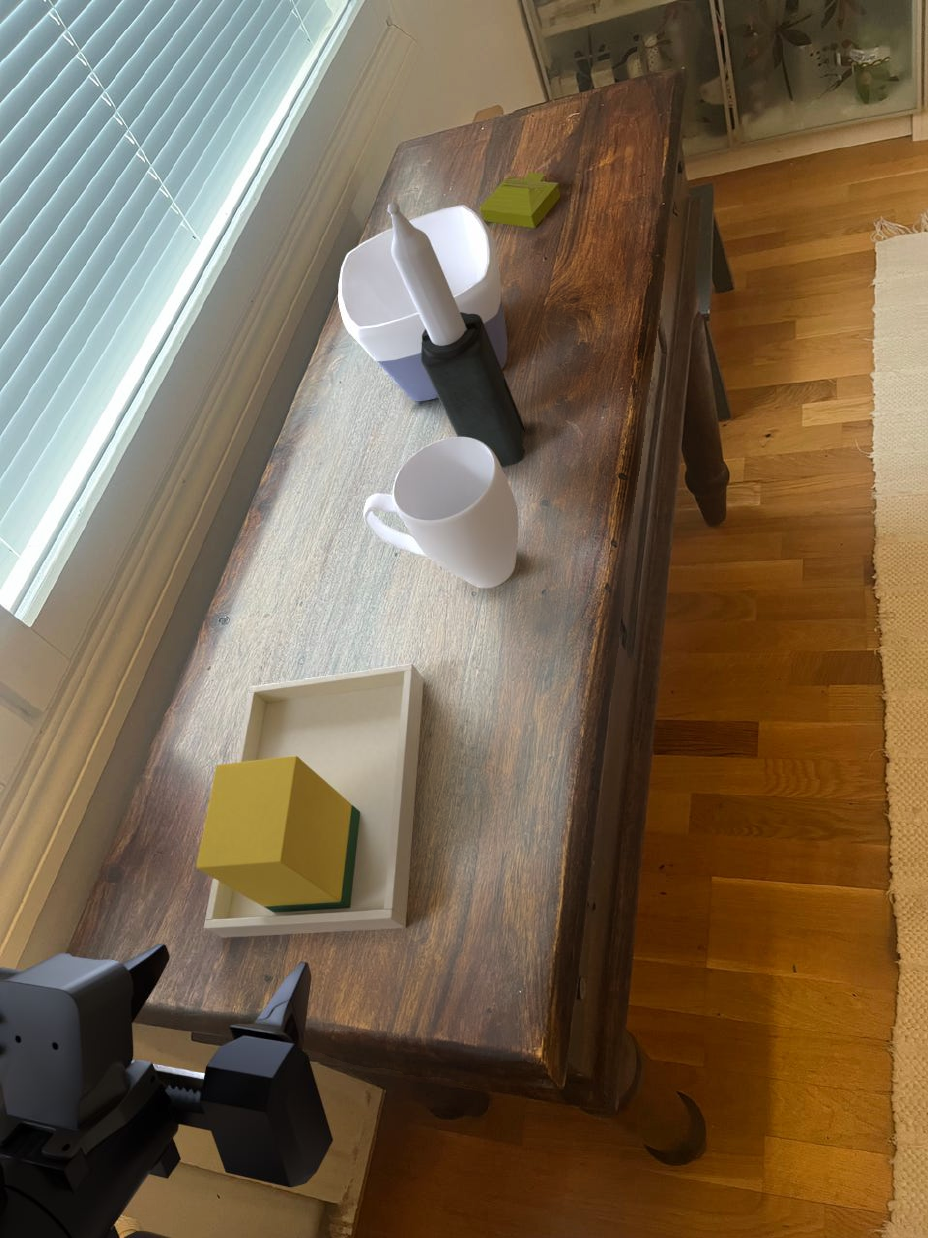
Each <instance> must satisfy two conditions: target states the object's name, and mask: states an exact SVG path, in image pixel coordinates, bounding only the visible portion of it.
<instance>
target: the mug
mask: <svg viewBox="0 0 928 1238" xmlns="http://www.w3.org/2000/svg"><path fill="white" fill-rule="evenodd" d="M392 486H393V487H392V494H389V493H388V494H387V493H375V494H372V495H370V496H369V497H368V499H367V500H366V501H365V505H364V507H363V521H364V523H365V526H366V527H367V529H368V530H369V532H371V533H372V535H373V536H375V537H376V538H377V539H378V540H380V541H382V542H384V543H385V544H388V545H389V546H392V547H394V548H397V549H400V550H402V551H405V552H408V553H411V554H414V555H417V556H420V557H424V558H426V559H430V560H431V561H432V562H433V563H435V565H437V566H439V567H440V568H442V569H443V570H445V571H446V572H449V573H450V574H451V575H454V576H456V577H458V578H459V579H461V580H462V581H464V582H466V583H468V584H470V585H472V586H474V587H476V588H479V589H492V588H495V587H498V586H500V585H502V584H503V583H505V582H506V581H507V580H509V578H510V577H511V576H512V575H513V573H514V571H515V568H516V564H517V552H518V551H517V550H518V541H519V532H520V531H519V530H520V529H519V528H520V522H519V520H520V518H519V510H518V505H517V502H516V498H515V496H514V493H513V489H512V488H511V485H510V483H509V481H508V479H507V476H506V474H505V472H504V470H503V467H501V465H500V463H499V461H498V459H497V457H496V455H495V454H494V452H493V451H492V450H491V449H490V448H489V447H488V446H487V445H486V444H484V443H483V442H481V441H479V440H476V439H473V438H468V437H457V436H451V437H447V438H445V437H444V438H441V439H439V440H436V441H433V442H430V443H429V444H427V445H425V446H423V447H422V448H420V449H419V450H417V451H415V453H413V454H412V455H411V456H410V457H409V458H408V459H407V460H406V461H405V462H404V463H403V465H402V466H401V467H400V469H399V471H398V472H397V474H396V476H395V479H394V482H393V485H392ZM374 511H384V512H387V513H391V514H393V515H396V516H399V517H400V519H401V521H402V522H403V523H404V524H403V525H405V527H406V529H407V530H408V532H409V533H410V535H409V534H407V533H405V532H401V531H399V530H396V529H394V528H392V527H391V526H388V525H387V524H385V523H384V522H382V521H381V520H380V519H379V518H378V517H377V516H376V514H375V512H374Z"/></svg>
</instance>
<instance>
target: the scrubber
mask: <svg viewBox="0 0 928 1238" xmlns="http://www.w3.org/2000/svg"><path fill="white" fill-rule="evenodd" d="M359 820H360V811H359V810H357V809H356V808H355V807H354V806H353V805H351V803H350V802H348V801H347V800H346V799H345V798H344V797H343V796H342V795H341V794H339V793H338V792H337V791H336V790H335V789H334V788H333V787H331V786H330V785H329V784H328V783H327V782H326V781H325V780H324V779H322V778H321V777H320V776H319V775H318V774H317V773H316V772H315V771H313V770H312V769H311V768H310V767H309V766H308V765H307V764H305V763H304V762H303V761H302V760H301V759H300V758H299V757H298V756H290V757H281V758H273V759H264V760H255V761H247V762H238V763H235V762H230V763H223V764H216V766H215V772H214V777H213V781H212V786H211V791H210V797H209V801H208V806H207V811H206V817H205V821H204V824H203V825H204V826H203V831H202V834H201V835H202V836H201V842H200V846H199V850H198V856H197V859H196V865H195V868H196V869H197V870H198V871H200V872H202V873H204V874H206V875H207V876H209V877H211V878H212V879H213V878H214V879H216V880H218V881H220V882H221V883H223V884H225V885H227V886H228V887H230V888H232V889H233V890H235V891H237V892H239V893H240V894H242V895H244V896H246V897H247V898H249V899H251V900H253V901H254V902H256V903H258V904H260V905H261V906H263V907H265V908H267V909H268V910H270V911H272V912H274V913H276V912H293V911H310V910H326V909H343V908H350V904H351V895H352V885H353V876H354V867H355V857H356V848H357V838H358V829H359Z"/></svg>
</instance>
